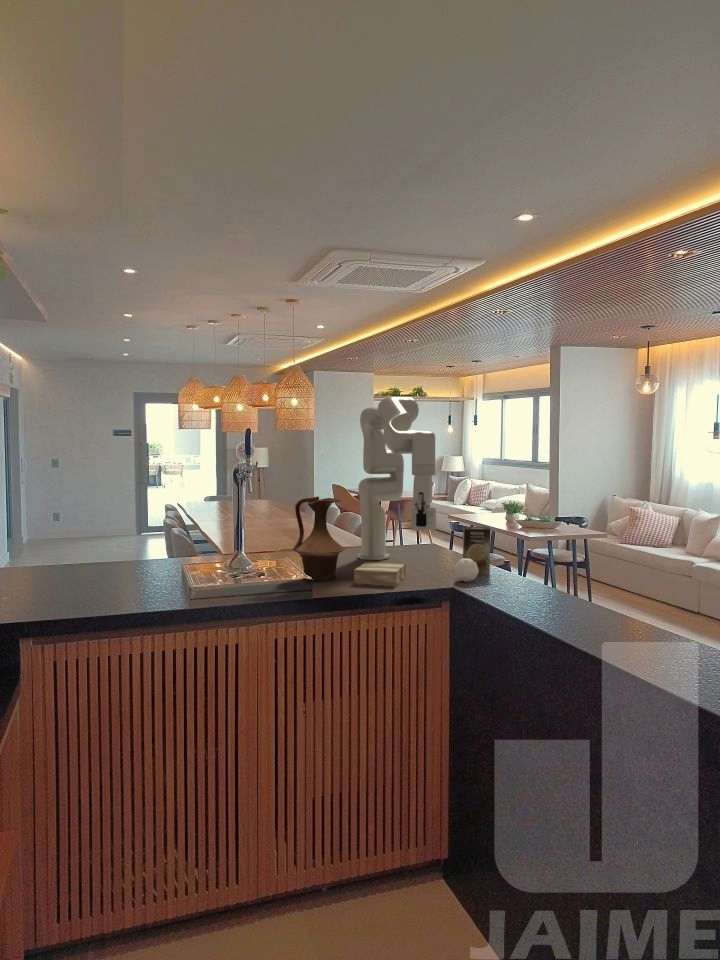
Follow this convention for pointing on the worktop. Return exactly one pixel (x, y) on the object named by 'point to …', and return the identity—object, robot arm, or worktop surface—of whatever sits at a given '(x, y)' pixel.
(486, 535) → the coffee box
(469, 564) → the geometric ball
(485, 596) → the worktop surface
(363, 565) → the birch block
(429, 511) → the product box
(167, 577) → the worktop surface
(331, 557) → the pitcher
